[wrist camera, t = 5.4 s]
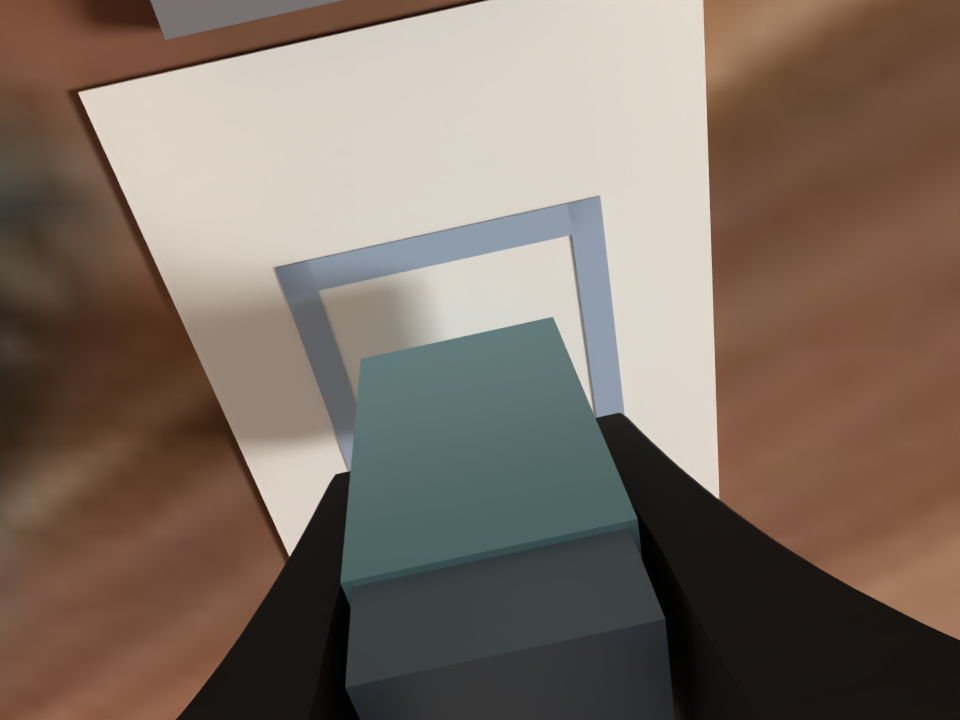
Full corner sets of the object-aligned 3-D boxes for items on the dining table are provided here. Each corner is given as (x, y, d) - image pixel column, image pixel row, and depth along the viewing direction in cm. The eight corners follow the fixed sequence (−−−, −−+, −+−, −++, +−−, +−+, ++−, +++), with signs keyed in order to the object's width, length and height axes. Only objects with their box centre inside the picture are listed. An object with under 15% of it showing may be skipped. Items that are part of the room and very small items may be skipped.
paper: (717, 542, 18) (721, 549, 18) (325, 626, 18) (324, 634, 18) (696, -48, 11) (702, -48, 11) (82, 90, 12) (76, 93, 11)
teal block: (577, 468, 13) (690, 799, 8) (408, 504, 13) (414, 857, 8) (552, 316, 12) (675, 609, 7) (360, 358, 12) (331, 682, 7)
